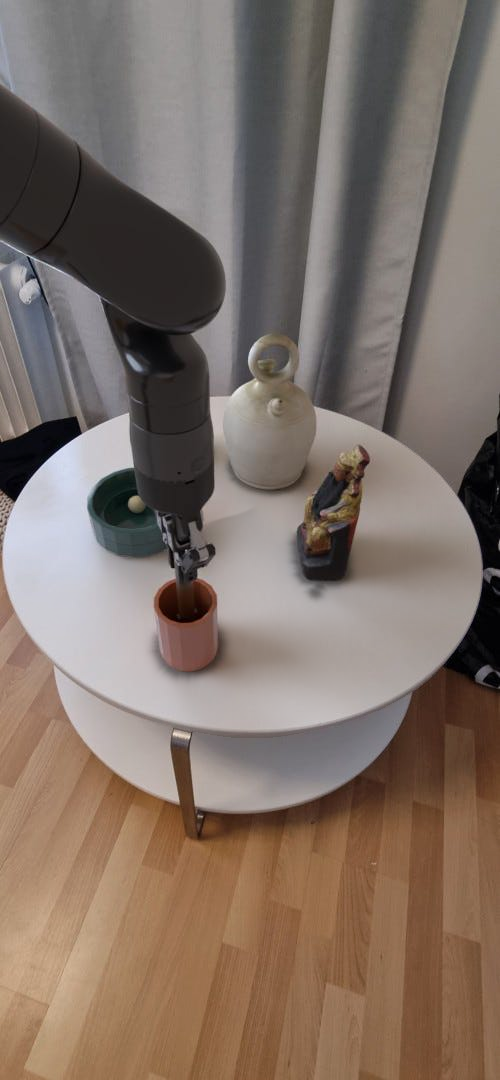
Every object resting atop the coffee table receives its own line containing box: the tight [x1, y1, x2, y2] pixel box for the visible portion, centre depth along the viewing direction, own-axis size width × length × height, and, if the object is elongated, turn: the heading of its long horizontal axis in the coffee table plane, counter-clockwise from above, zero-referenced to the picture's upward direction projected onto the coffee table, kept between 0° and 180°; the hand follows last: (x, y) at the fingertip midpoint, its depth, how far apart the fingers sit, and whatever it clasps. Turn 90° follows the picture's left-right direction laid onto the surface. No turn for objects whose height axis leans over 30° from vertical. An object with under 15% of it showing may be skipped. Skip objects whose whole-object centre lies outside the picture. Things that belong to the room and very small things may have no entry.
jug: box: [222, 332, 317, 491], centre depth 95 cm, size 15×16×25 cm
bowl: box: [86, 467, 167, 558], centre depth 91 cm, size 15×15×6 cm
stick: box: [173, 550, 198, 623], centre depth 70 cm, size 3×2×18 cm
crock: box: [153, 577, 219, 672], centre depth 74 cm, size 8×8×10 cm
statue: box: [296, 444, 371, 593], centre depth 82 cm, size 12×8×20 cm, turn 178°
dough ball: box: [128, 496, 146, 513], centre depth 93 cm, size 3×3×3 cm
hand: (183, 571), depth 67 cm, fingers closed on stick, 2 cm apart
